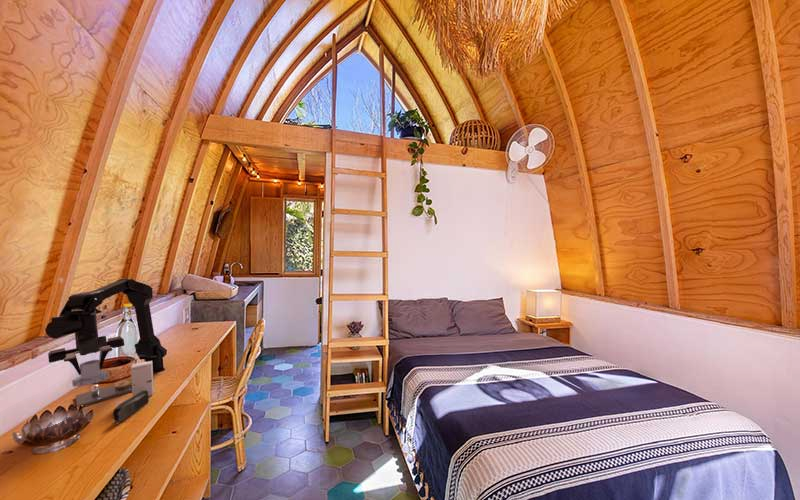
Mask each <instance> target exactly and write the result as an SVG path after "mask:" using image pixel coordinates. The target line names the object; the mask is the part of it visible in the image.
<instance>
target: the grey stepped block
mask: <svg viewBox="0 0 800 500" xmlns="http://www.w3.org/2000/svg"><path fill="white" fill-rule="evenodd" d="M79 367H80V370H81V375H79V376H77V377H75V379H72V381H71V384H72V387H73V388H74V387H77V388H81V387H83V386H87V387H88V386H90V385H92V384H93V385H94V384H98V383H100V382H101V381H104V380H107V378H109V377H110V372H109V370H100V364H99V359H94V360H93V359H91V360H88V361H84V362H81V363H79Z"/></svg>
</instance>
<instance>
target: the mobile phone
mask: <svg viewBox="0 0 800 500" xmlns="http://www.w3.org/2000/svg"><path fill="white" fill-rule="evenodd" d="M149 397H150V396H148V391H147V390H143V391H141V392H139V393H138V394H136V395H134V396H133V397H132V396H131V397H129V398H128V399H126V400H124V401H122V402H120V403H119V404H118V405H117V406H116V407H115V408H114V409H113V412H112V415H113V420H114V422H115V423H114V426H118V425H119V424H120V423H122V422H123V421H124V420H126V419H127V418H129V417H130V416H132V415H133V414H134V413H136V412H137V411H139V410H140V409H141V408H143V407H145V406H146V405H147V404H149V403H150V399H149ZM144 405H145V406H144Z"/></svg>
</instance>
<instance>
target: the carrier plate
mask: <svg viewBox="0 0 800 500" xmlns="http://www.w3.org/2000/svg"><path fill="white" fill-rule="evenodd" d="M90 389H91V390H89V391H86V392H83V393H79V394H76V395H75V401H76V402H75V403H76V405H77V406H80V405H83V407H82V408H84V407H86V406H90V405H93V404H97V403H100V402H103V401H106V400H110V399H113V398H116V397H118V396H123V395H125V394H128V393H132V381H131V378H123V379H120V380H118V381H116V382H114V384H110V385H108V386H103V387H99V384H98V383H95V384H93V385H91V386H90Z"/></svg>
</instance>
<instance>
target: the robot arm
mask: <svg viewBox="0 0 800 500" xmlns="http://www.w3.org/2000/svg"><path fill="white" fill-rule="evenodd" d="M120 293H122V294H124V295H125V296H126V298H127V300H128V302H129V303H130V304H131V305H132V306H133V307H134V312H135V317H136V323H137V329H138V330H137V331H138V335H139V339H138V341H137V342H136V343H135V344H134V349H135V353H136V355H137V357H138V359H139V360H140V361H142V360H143V362H147V361H152V365H153V374H155V373H158V372H161V371H165V370H166V369H165V367H164V358H165V356H167V351H168V350H167V349H166V347H163V345H162V343H161V340H160V338H158V337H157V336H156V335H155V331H154V325H153V318H152V313H151V306H150V303H151V302H152V300H153V298H154V296H153V295H154V293H153V288H152V286H150V285H148V284H146V283H143V282H140V281H136V280H135V279H134V278H133V279H132V278H119V279H117V280H116V281H113V282H110V283H109V284H106V285H104V286H102V287H99V288H96V289H95V290H94V289H93V290H89V291H84V292H83V291H82V292H79V293H75V294H74V293H73V294H71V295H70V296H69V297H68V299H67V301H66V303H65V304H64V306H63V308H62V310H61V311H60V313H59V316H54V317H51V318H50V322H49V323H47V325H46V327H45V329H44V330H45V334H46V335H47V336H48V337H49V338H51V339H60V338H62V337H66V336H69V335H72V334H73V335H74V339H75V348H72V349H66V348H65V347H63V348H57V349H53V350H49V351H48V353H47V354H48V355H47V356H48V363H49V364H51V363H55V362H59V361H63V362H69V363H70V364H71V365H72V366H73V368H74V369H75V371H76V372H77V374H78V375H79V376H81V370H80V363H79V361H78V358H77V355H76V354H79V356H86V355H89V354H93V353H94V354H95V353H98V352H99V358H98V360H99V364H100V371H102V369H103V366H104V362H105V359H106V358H107V356H108V353H110V352H112V351H113V349H116V348H121V347H124V346H125V340H124V338H123V337H122V336H120V335H119V336H115V337H109V338H107V336H106V335H101V336H99V332H98V322H97V320H98V319H97V314H101V313H102V310H100V309H98V308H97V307H99V306H101V305H102V304H103V302H104V300H106V299H108V298H110V297H113V296H115V295H117V294H120Z"/></svg>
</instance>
